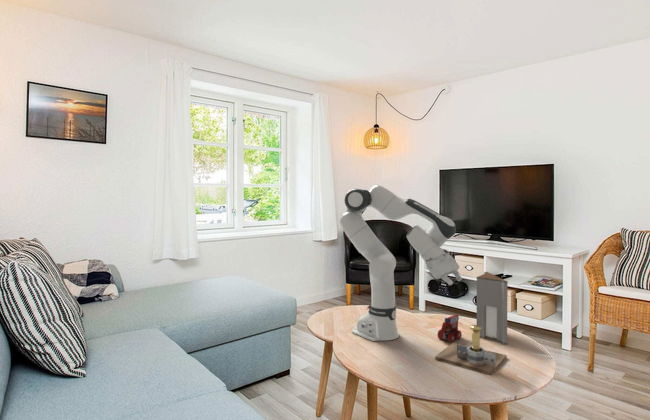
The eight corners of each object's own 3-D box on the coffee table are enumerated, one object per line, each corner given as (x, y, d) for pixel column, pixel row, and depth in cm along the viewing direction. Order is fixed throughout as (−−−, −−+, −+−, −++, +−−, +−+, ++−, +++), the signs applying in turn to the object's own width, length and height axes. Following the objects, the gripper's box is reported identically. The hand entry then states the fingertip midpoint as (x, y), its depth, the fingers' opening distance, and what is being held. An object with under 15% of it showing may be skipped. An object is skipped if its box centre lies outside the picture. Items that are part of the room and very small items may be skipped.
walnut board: (435, 359, 159) (435, 356, 159) (453, 345, 173) (453, 342, 173) (491, 375, 145) (491, 371, 145) (506, 358, 159) (506, 355, 159)
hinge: (454, 359, 156) (454, 347, 155) (460, 354, 160) (460, 342, 160) (492, 369, 146) (492, 356, 146) (497, 364, 151) (497, 351, 151)
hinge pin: (468, 361, 154) (468, 326, 153) (473, 358, 156) (473, 324, 155) (477, 365, 150) (477, 329, 150) (483, 362, 153) (483, 326, 152)
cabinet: (507, 344, 173) (507, 281, 172) (485, 344, 173) (485, 281, 172) (487, 328, 194) (487, 271, 193) (467, 328, 194) (467, 272, 193)
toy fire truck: (434, 340, 180) (434, 317, 179) (450, 333, 187) (450, 312, 187) (447, 344, 174) (447, 321, 174) (463, 337, 182) (463, 315, 182)
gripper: (428, 255, 163) (451, 282, 157) (448, 249, 178) (470, 273, 172) (418, 265, 166) (440, 291, 160) (439, 258, 181) (460, 282, 176)
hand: (456, 282), depth 166 cm, fingers open, 8 cm apart
